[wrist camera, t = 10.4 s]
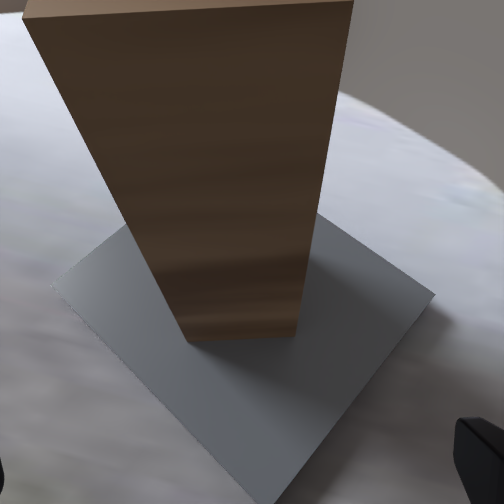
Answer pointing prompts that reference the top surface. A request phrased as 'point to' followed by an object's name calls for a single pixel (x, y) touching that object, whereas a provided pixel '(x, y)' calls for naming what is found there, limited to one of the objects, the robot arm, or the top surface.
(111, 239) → the far plate
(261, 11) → the walnut block
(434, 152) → the top surface
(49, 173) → the top surface
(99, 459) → the top surface
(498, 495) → the robot arm
